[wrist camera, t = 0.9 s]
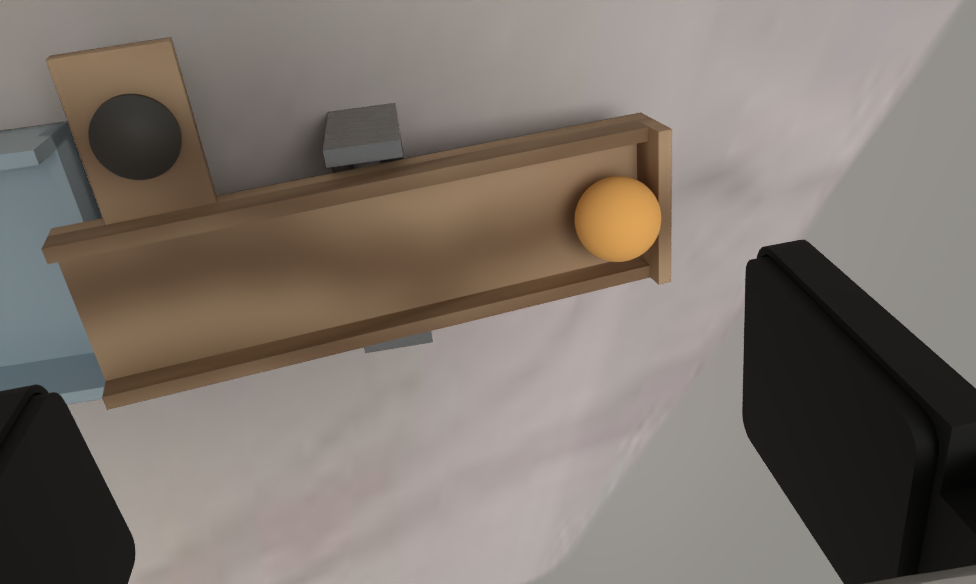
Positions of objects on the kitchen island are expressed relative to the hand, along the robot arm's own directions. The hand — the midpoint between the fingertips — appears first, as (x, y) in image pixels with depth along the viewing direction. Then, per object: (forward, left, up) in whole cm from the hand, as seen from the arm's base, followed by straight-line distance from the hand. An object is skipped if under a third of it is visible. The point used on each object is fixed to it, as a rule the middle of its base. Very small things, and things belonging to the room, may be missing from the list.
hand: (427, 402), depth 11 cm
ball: (+7, +8, -21) cm, 24 cm away
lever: (+4, -2, -23) cm, 24 cm away
